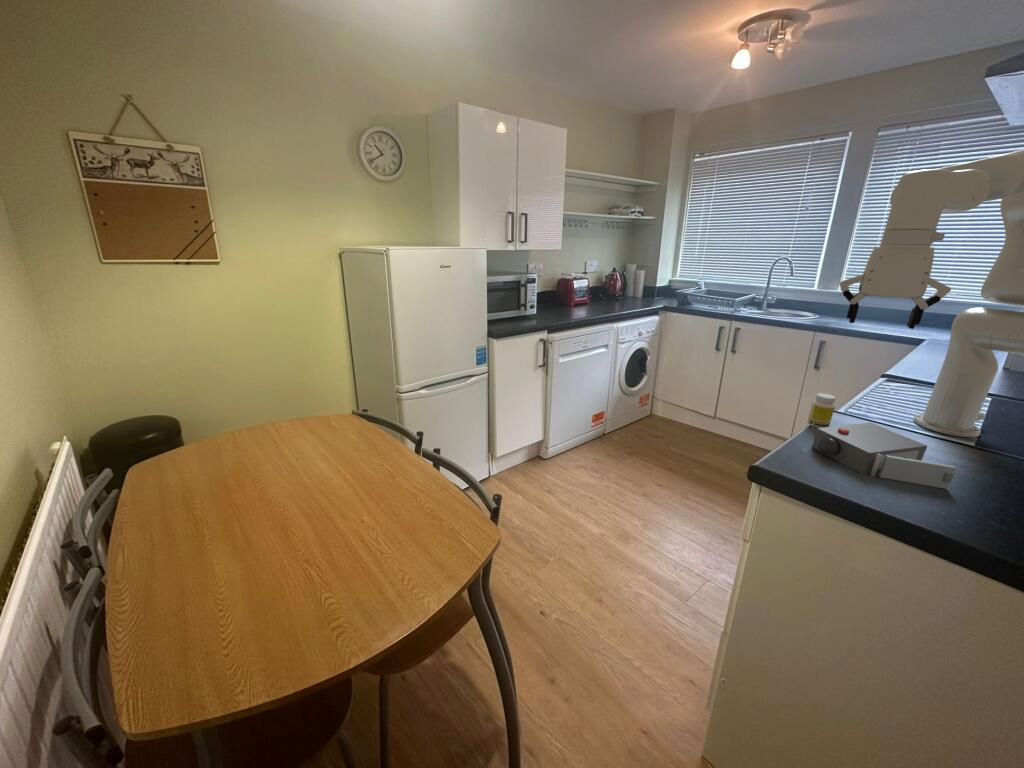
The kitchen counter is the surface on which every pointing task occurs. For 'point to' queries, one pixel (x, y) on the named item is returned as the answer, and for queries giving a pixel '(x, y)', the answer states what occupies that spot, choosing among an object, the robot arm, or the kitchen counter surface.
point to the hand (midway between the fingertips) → (879, 324)
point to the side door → (917, 471)
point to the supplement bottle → (822, 410)
